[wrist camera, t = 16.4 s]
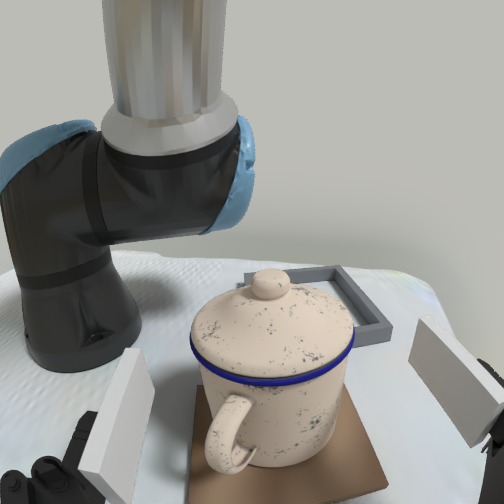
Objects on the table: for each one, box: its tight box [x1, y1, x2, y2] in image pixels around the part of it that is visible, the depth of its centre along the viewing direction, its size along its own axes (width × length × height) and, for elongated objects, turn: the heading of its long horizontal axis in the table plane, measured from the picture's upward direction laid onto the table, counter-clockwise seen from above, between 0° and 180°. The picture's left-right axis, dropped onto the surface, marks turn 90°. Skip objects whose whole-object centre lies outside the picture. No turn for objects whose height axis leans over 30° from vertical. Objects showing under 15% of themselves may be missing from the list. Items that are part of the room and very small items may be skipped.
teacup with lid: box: [190, 269, 355, 475], centre depth 16 cm, size 12×9×12 cm
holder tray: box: [244, 265, 393, 348], centre depth 35 cm, size 14×17×2 cm
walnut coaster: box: [188, 382, 389, 504], centre depth 18 cm, size 12×12×1 cm
